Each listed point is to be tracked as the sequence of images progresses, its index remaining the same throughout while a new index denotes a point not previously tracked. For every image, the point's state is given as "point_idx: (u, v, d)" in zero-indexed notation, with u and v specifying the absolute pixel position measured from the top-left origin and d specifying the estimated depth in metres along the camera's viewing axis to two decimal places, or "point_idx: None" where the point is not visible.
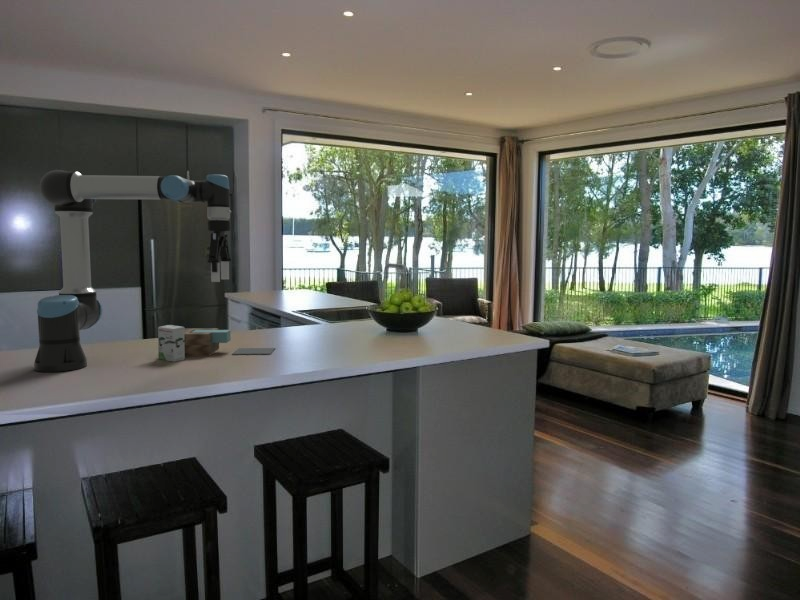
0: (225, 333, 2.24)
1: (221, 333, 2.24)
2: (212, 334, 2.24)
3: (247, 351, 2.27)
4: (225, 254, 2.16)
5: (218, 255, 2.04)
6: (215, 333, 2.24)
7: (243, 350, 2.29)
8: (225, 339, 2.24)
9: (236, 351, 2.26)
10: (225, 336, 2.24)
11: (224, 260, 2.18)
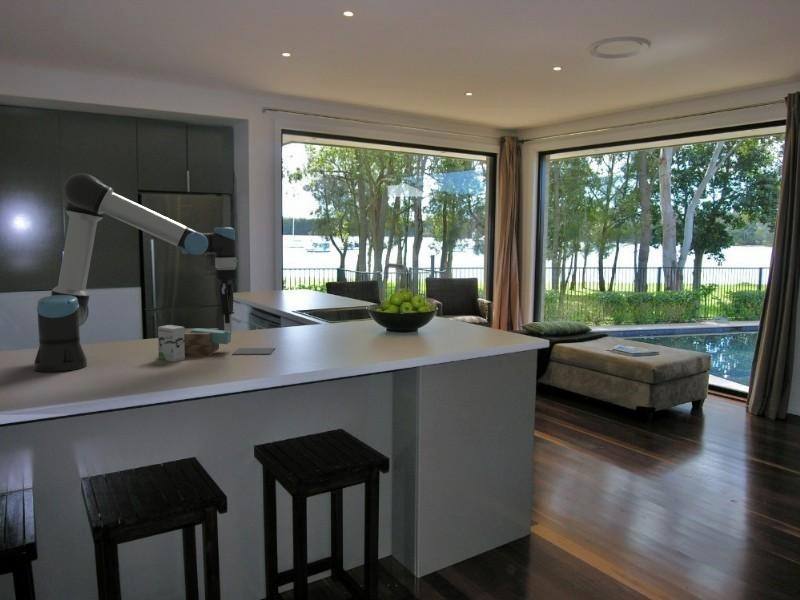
0: (226, 334, 2.24)
1: (222, 334, 2.24)
2: (213, 334, 2.24)
3: (247, 351, 2.27)
4: (229, 304, 2.27)
5: (229, 307, 2.24)
6: (216, 333, 2.24)
7: (243, 350, 2.29)
8: (225, 340, 2.24)
9: (236, 351, 2.26)
10: (226, 337, 2.24)
11: None
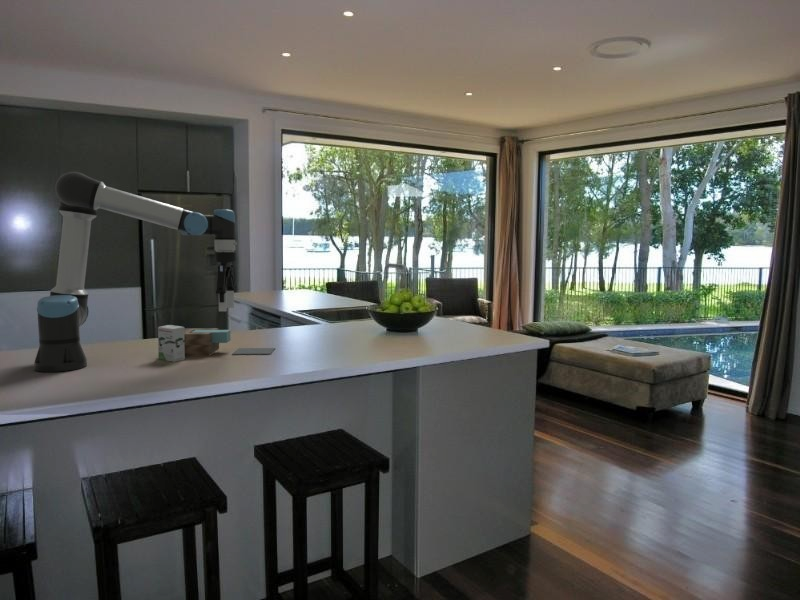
0: (225, 333, 2.24)
1: (221, 333, 2.24)
2: (212, 334, 2.24)
3: (247, 351, 2.27)
4: (230, 283, 2.30)
5: (225, 286, 2.19)
6: (215, 333, 2.24)
7: (243, 350, 2.29)
8: (225, 339, 2.24)
9: (236, 351, 2.26)
10: (225, 336, 2.24)
11: (229, 289, 2.32)
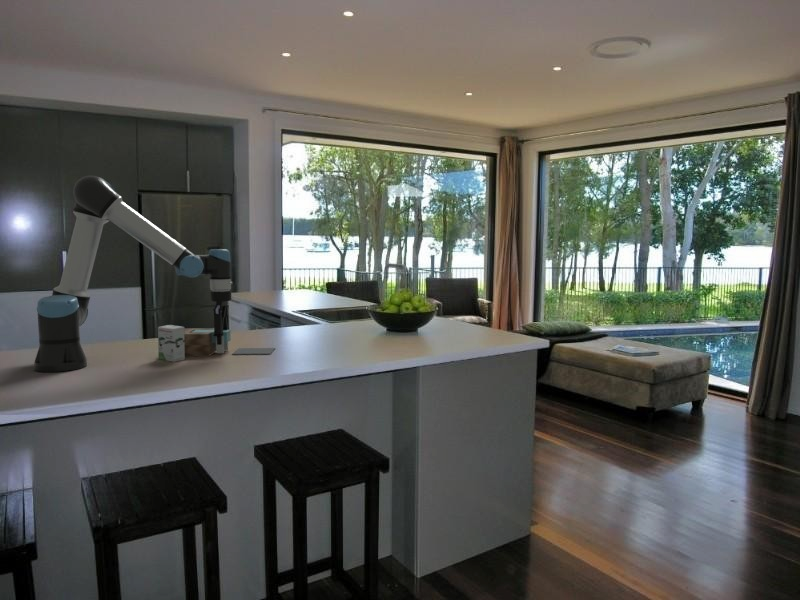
0: (225, 333, 2.24)
1: None
2: (212, 334, 2.24)
3: (247, 351, 2.27)
4: (225, 324, 2.29)
5: (222, 328, 2.22)
6: None
7: (243, 350, 2.29)
8: (225, 339, 2.24)
9: (236, 351, 2.26)
10: (225, 336, 2.24)
11: None
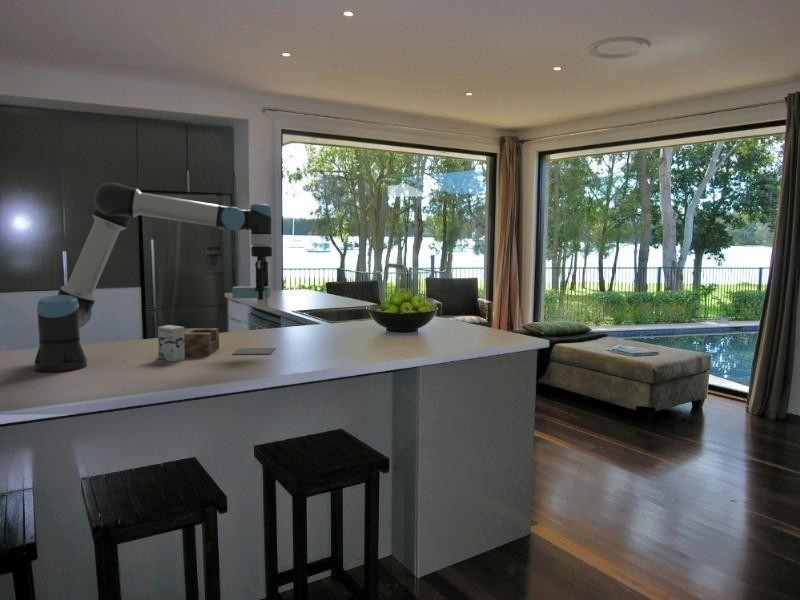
0: (266, 288, 2.23)
1: None
2: (253, 289, 2.23)
3: (247, 351, 2.27)
4: (265, 281, 2.29)
5: (263, 284, 2.22)
6: None
7: (243, 350, 2.29)
8: (266, 294, 2.23)
9: (236, 351, 2.26)
10: (266, 291, 2.23)
11: None
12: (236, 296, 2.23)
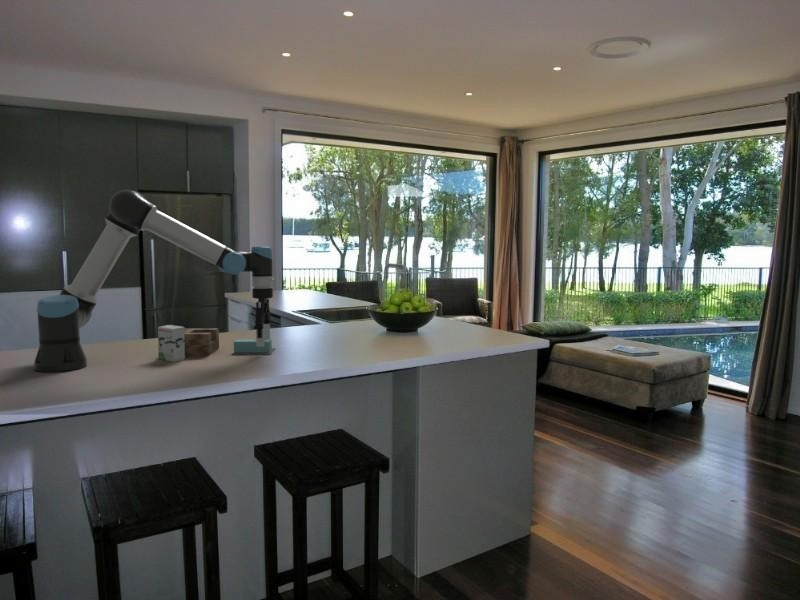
0: (267, 342, 2.25)
1: None
2: (254, 343, 2.25)
3: None
4: (267, 317, 2.32)
5: (263, 322, 2.20)
6: None
7: None
8: (267, 348, 2.25)
9: None
10: (267, 345, 2.25)
11: (266, 323, 2.34)
12: (237, 350, 2.25)
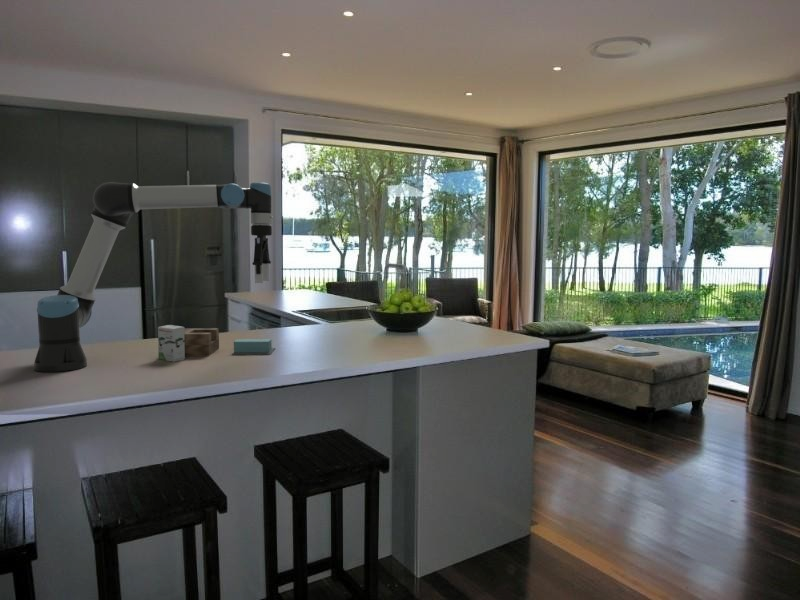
0: (267, 342, 2.25)
1: (263, 342, 2.25)
2: (254, 343, 2.25)
3: None
4: (266, 257, 2.30)
5: (261, 258, 2.18)
6: (257, 342, 2.25)
7: None
8: (267, 348, 2.25)
9: None
10: (267, 345, 2.25)
11: (264, 262, 2.32)
12: (237, 350, 2.25)
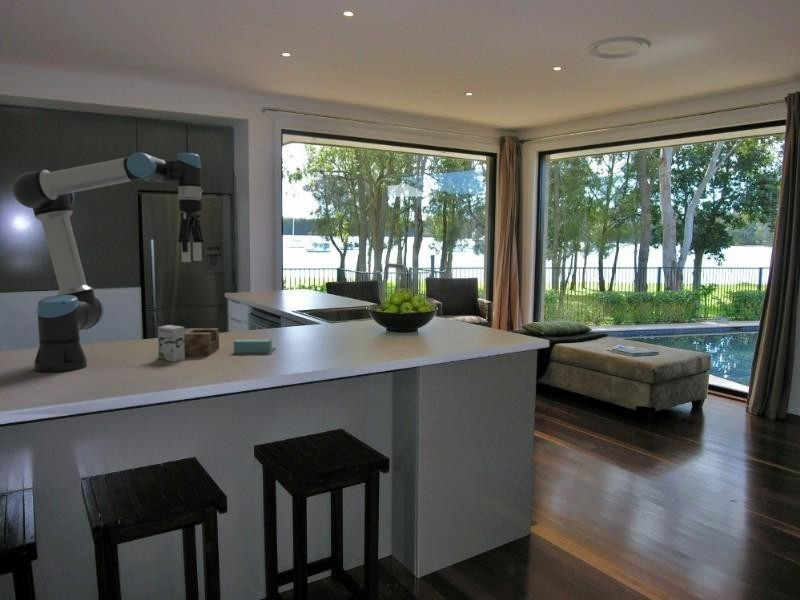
0: (267, 342, 2.25)
1: (263, 342, 2.25)
2: (254, 343, 2.25)
3: None
4: (197, 235, 2.13)
5: (189, 235, 2.01)
6: (257, 342, 2.25)
7: None
8: (267, 348, 2.25)
9: None
10: (267, 345, 2.25)
11: (196, 241, 2.15)
12: (237, 350, 2.25)
